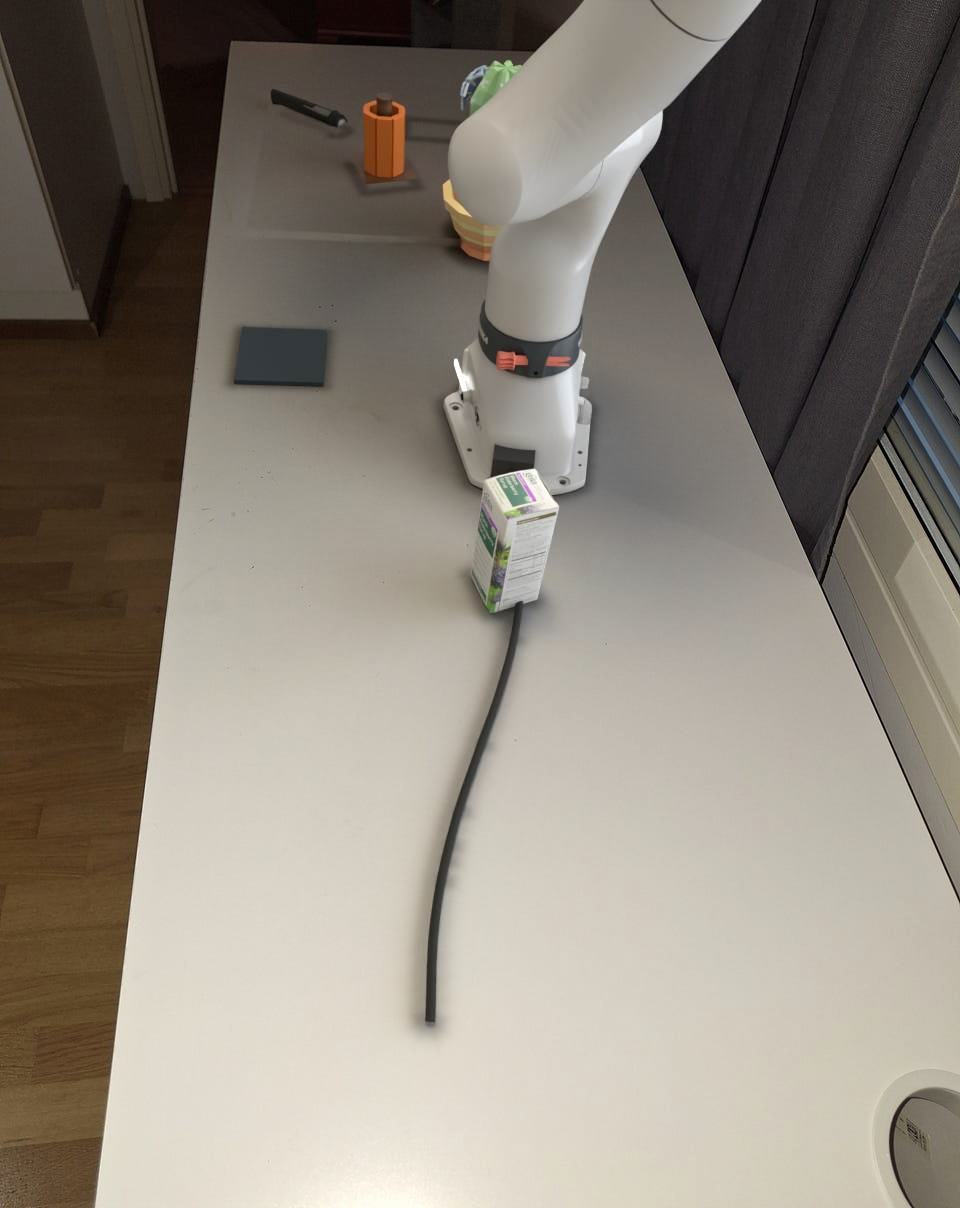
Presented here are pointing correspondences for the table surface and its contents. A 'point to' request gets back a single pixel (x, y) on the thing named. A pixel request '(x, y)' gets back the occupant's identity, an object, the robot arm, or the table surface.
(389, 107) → the post
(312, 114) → the electric trimmer
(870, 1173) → the table surface
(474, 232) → the potted cactus
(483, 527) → the syrup box
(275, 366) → the mat
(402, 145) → the orange faceted tube
